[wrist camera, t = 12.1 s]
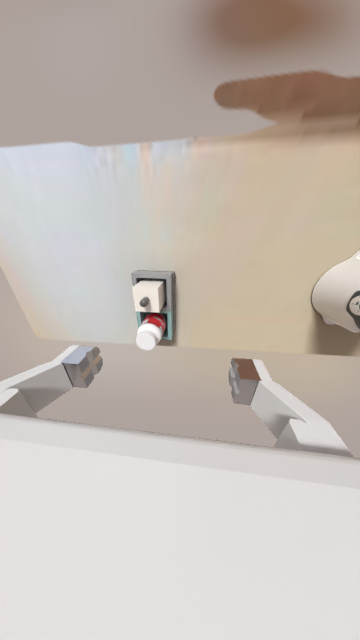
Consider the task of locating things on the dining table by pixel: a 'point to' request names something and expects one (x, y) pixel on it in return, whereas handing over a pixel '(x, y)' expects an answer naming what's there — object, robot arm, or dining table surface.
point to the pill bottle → (151, 331)
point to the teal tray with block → (155, 297)
